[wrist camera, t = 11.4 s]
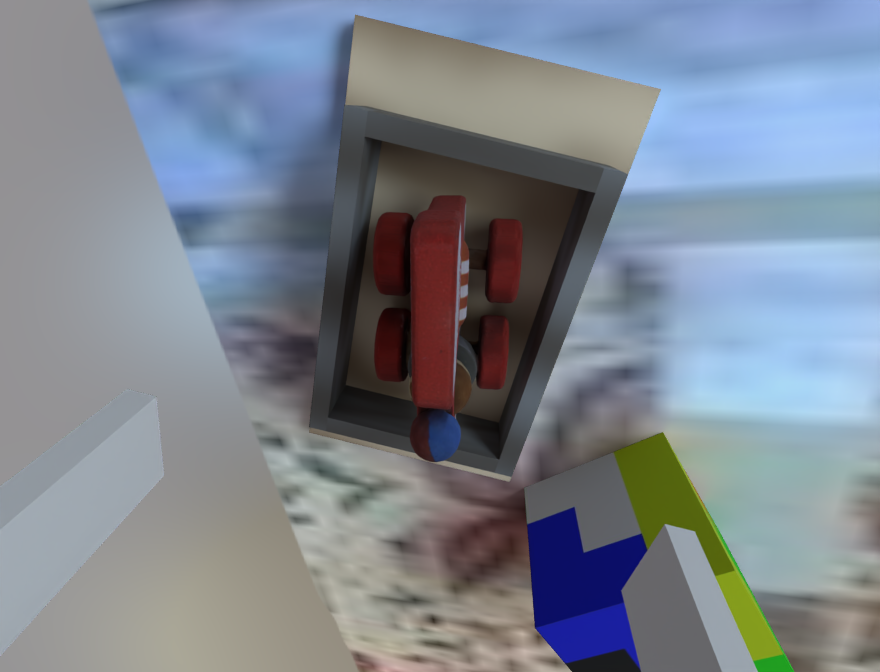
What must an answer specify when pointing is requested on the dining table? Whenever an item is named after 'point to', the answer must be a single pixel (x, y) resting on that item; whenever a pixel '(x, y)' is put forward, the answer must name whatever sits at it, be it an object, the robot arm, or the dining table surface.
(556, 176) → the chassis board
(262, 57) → the dining table surface
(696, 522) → the puzzle toy
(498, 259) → the toy fire truck
